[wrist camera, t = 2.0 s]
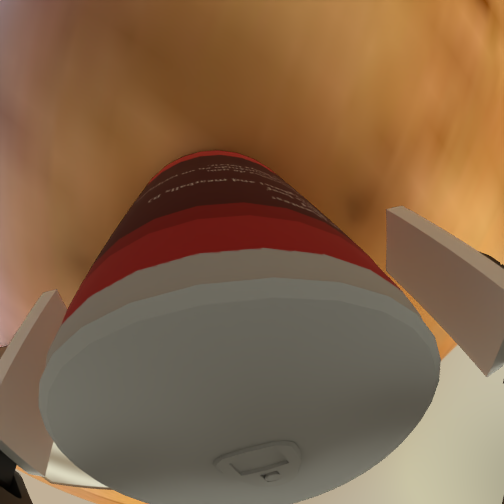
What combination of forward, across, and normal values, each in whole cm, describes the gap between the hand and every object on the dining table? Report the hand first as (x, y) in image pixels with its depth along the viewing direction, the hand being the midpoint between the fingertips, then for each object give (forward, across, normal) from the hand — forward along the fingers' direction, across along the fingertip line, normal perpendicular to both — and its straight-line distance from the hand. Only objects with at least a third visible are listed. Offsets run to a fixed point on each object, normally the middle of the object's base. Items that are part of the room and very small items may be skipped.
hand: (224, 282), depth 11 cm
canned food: (+4, 0, 0) cm, 4 cm away
